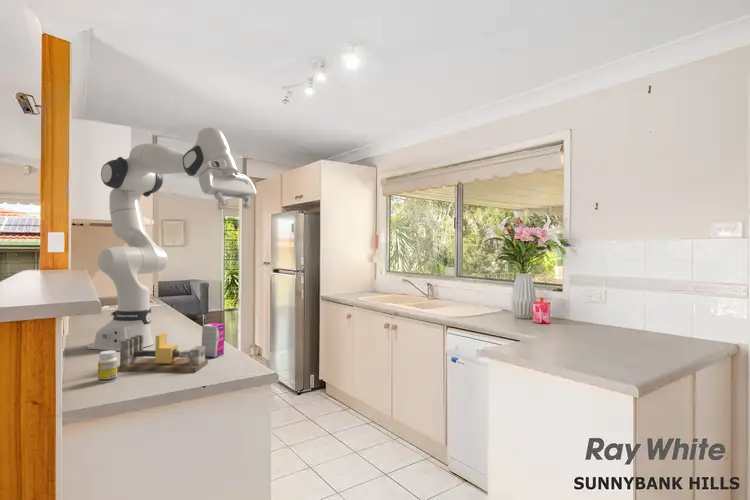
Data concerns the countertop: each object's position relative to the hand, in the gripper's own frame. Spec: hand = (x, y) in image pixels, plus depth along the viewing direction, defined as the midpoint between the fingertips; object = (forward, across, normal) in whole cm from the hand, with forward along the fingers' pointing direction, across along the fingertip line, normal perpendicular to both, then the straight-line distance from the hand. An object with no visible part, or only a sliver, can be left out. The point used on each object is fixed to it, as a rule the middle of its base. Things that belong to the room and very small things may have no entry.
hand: (236, 207), depth 138 cm
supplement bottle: (+38, +30, -42) cm, 64 cm away
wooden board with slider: (+38, +13, -41) cm, 57 cm away
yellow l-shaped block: (+37, +12, -40) cm, 55 cm away
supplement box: (+39, -5, -40) cm, 56 cm away
